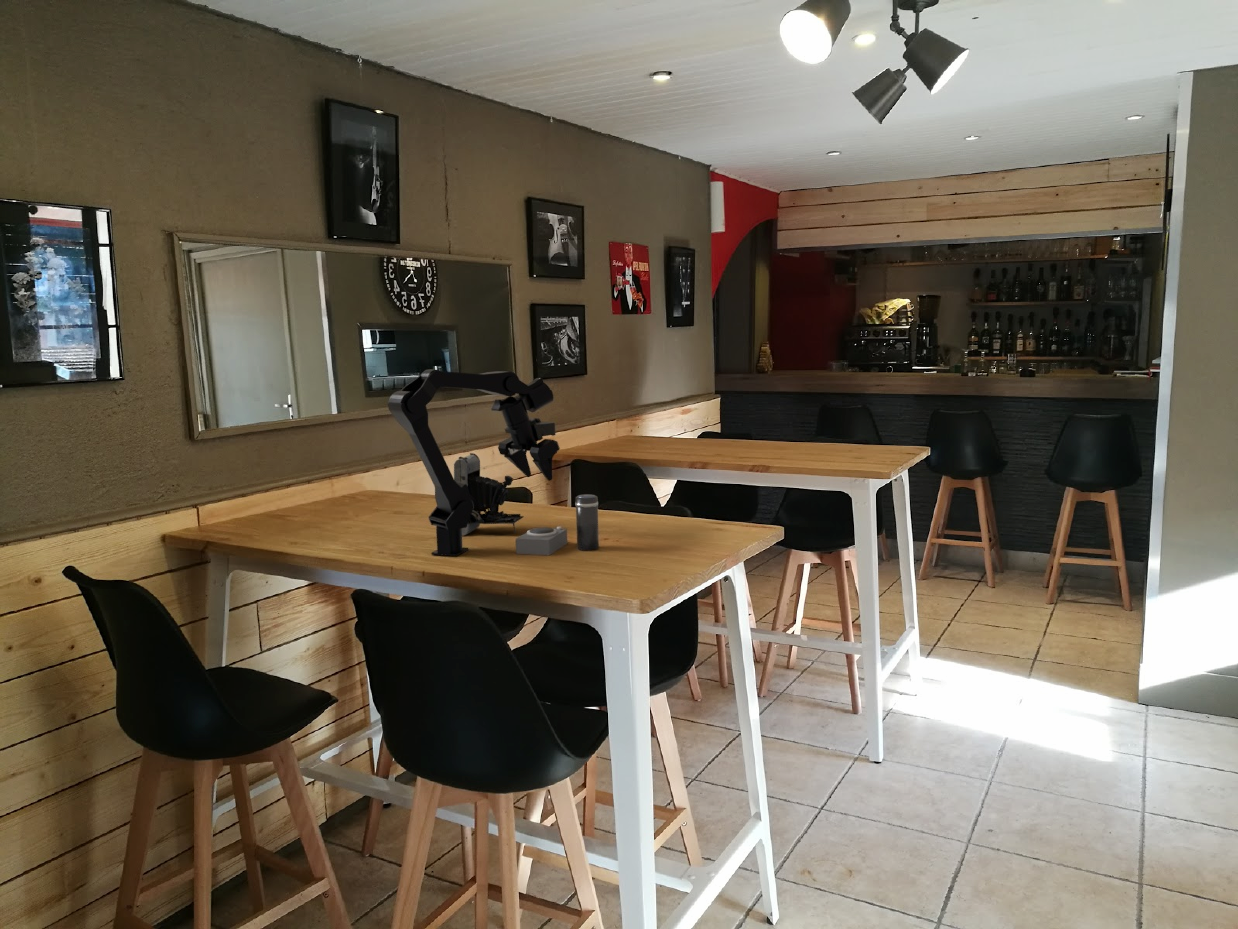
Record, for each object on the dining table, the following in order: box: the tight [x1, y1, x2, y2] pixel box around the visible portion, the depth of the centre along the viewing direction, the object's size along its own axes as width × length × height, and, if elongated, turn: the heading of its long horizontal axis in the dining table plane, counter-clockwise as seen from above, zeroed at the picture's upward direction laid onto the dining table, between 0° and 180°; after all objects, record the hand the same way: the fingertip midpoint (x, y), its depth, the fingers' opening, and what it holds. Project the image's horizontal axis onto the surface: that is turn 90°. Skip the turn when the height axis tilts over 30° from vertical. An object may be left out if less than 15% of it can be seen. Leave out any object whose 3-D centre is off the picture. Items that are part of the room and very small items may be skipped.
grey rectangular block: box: [515, 526, 568, 556], centre depth 206 cm, size 12×8×4 cm, turn 164°
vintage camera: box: [453, 452, 524, 537], centre depth 224 cm, size 10×16×20 cm, turn 79°
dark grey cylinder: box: [574, 493, 600, 552], centre depth 204 cm, size 5×5×12 cm
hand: (539, 478), depth 218 cm, fingers open, 9 cm apart
